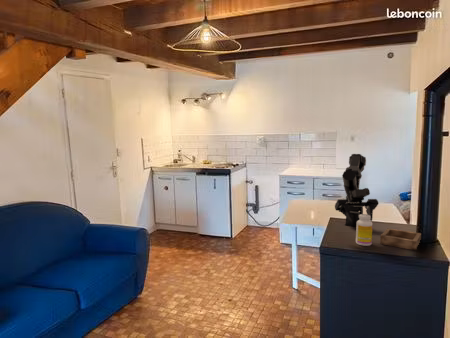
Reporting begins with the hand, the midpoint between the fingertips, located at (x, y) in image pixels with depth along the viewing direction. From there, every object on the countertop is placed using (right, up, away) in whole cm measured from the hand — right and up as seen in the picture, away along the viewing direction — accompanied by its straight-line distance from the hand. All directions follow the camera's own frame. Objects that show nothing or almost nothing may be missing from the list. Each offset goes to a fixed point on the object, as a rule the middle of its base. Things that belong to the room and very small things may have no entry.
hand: (361, 220), depth 157 cm
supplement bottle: (0, -10, -1) cm, 10 cm away
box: (+17, -10, 0) cm, 20 cm away
